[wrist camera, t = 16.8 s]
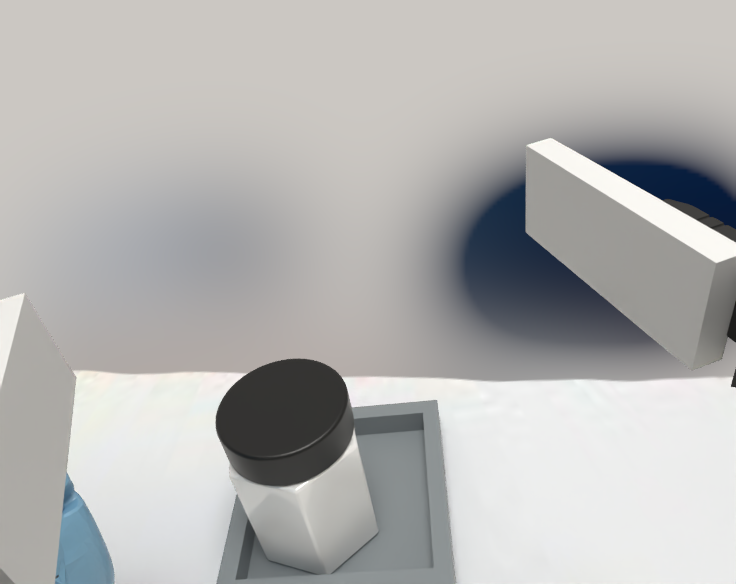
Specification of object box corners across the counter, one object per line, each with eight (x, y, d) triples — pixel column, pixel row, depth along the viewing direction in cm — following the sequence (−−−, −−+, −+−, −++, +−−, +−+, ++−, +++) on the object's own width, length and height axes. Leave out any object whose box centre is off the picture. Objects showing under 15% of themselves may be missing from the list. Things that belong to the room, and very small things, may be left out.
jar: (335, 450, 48) (302, 336, 41) (404, 514, 42) (380, 395, 35) (238, 522, 44) (184, 410, 37) (301, 604, 38) (251, 490, 31)
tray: (224, 620, 39) (212, 599, 37) (262, 437, 51) (254, 416, 49) (458, 607, 37) (455, 585, 36) (439, 422, 49) (437, 399, 48)
